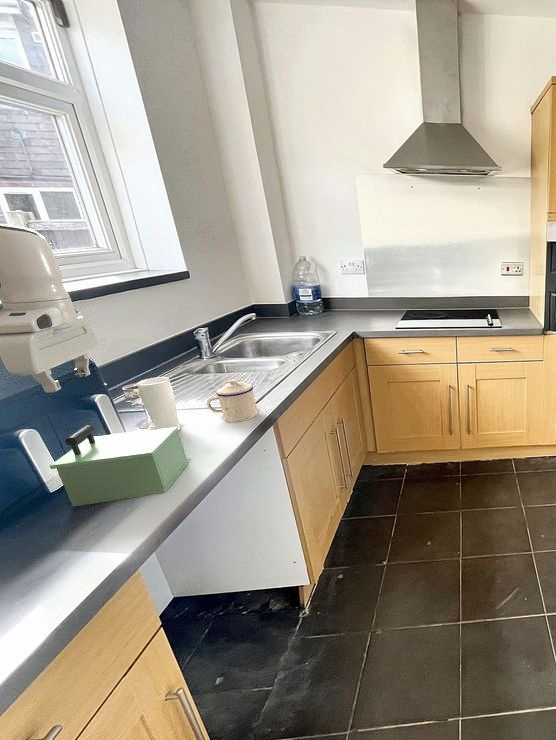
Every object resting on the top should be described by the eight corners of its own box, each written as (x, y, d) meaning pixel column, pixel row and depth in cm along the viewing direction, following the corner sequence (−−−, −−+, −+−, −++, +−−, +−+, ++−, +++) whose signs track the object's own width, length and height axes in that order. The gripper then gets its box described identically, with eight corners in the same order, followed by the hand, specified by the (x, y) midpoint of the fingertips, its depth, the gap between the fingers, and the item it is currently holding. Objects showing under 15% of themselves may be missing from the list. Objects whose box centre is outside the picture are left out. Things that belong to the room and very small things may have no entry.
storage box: (72, 506, 83) (56, 468, 80) (108, 474, 94) (94, 439, 92) (165, 492, 88) (152, 456, 85) (188, 463, 99) (178, 430, 96)
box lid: (50, 469, 80) (41, 447, 78) (90, 440, 91) (82, 420, 90) (152, 455, 85) (145, 434, 83) (178, 430, 96) (172, 411, 94)
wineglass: (151, 430, 116) (138, 390, 112) (128, 429, 116) (114, 389, 112) (171, 419, 122) (159, 381, 118) (149, 419, 123) (137, 381, 119)
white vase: (152, 431, 115) (135, 380, 110) (182, 424, 120) (168, 375, 114) (154, 439, 111) (136, 387, 105) (185, 431, 115) (170, 381, 110)
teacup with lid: (259, 408, 130) (251, 373, 126) (258, 419, 123) (250, 382, 119) (213, 416, 125) (203, 379, 121) (209, 427, 117) (199, 389, 113)
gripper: (58, 307, 87) (81, 369, 92) (-24, 326, 69) (10, 403, 74) (95, 305, 89) (116, 367, 94) (25, 324, 71) (55, 399, 76)
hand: (69, 383), depth 84 cm, fingers open, 8 cm apart
